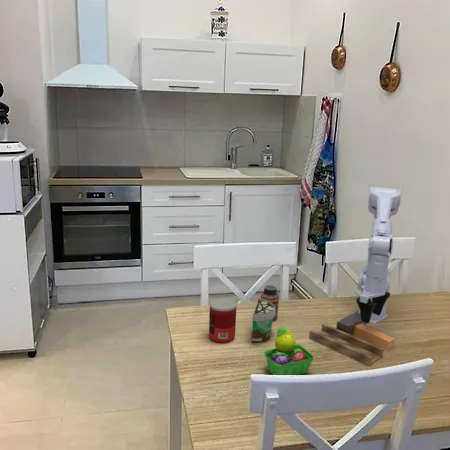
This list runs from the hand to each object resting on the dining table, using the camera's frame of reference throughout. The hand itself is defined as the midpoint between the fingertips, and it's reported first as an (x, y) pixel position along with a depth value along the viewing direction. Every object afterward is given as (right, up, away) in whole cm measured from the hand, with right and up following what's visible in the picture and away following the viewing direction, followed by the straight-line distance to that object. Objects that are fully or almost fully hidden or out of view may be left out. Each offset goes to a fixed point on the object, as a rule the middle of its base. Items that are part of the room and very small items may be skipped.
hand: (370, 318), depth 139 cm
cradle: (-9, -8, -3) cm, 13 cm away
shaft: (-1, -7, +2) cm, 7 cm away
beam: (-4, -6, +6) cm, 10 cm away
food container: (-32, -6, +2) cm, 33 cm away
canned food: (-45, -6, 0) cm, 45 cm away
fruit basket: (-27, -11, -16) cm, 33 cm away
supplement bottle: (-30, -3, +13) cm, 33 cm away
